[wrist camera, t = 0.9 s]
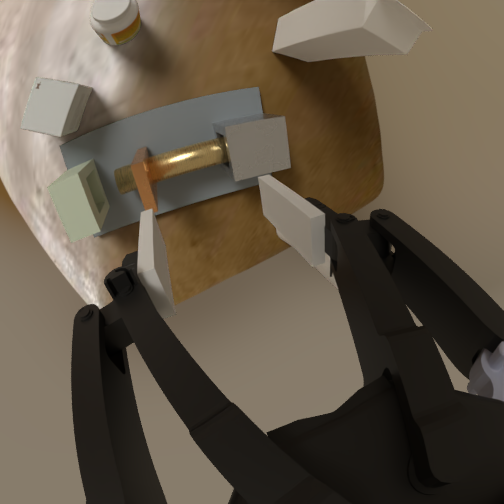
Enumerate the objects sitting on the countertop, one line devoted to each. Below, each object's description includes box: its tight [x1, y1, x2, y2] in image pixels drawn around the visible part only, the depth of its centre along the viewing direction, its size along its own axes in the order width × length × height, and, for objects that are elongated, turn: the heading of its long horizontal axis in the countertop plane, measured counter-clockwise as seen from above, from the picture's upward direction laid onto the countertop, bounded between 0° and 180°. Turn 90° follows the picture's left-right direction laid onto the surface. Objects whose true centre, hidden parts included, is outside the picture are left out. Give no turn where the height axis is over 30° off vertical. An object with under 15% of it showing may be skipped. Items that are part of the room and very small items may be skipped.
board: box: [60, 87, 272, 237], centre depth 33 cm, size 14×27×1 cm, turn 99°
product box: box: [21, 77, 92, 137], centre depth 22 cm, size 6×6×7 cm
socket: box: [47, 159, 110, 243], centre depth 27 cm, size 7×4×8 cm, turn 9°
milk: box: [272, 0, 433, 62], centre depth 21 cm, size 6×6×22 cm
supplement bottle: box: [90, 0, 141, 45], centre depth 18 cm, size 5×5×10 cm
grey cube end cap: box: [212, 113, 291, 182], centre depth 32 cm, size 6×7×7 cm
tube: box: [114, 137, 229, 213], centre depth 29 cm, size 5×20×10 cm, turn 99°
